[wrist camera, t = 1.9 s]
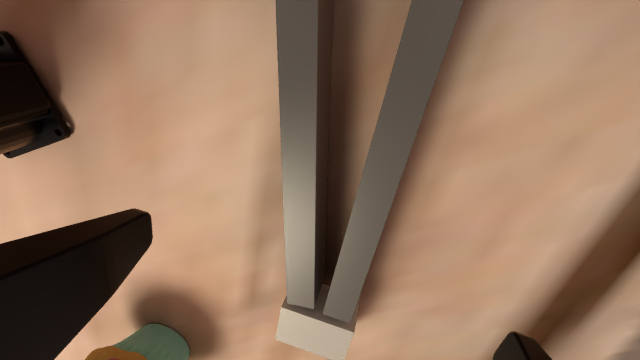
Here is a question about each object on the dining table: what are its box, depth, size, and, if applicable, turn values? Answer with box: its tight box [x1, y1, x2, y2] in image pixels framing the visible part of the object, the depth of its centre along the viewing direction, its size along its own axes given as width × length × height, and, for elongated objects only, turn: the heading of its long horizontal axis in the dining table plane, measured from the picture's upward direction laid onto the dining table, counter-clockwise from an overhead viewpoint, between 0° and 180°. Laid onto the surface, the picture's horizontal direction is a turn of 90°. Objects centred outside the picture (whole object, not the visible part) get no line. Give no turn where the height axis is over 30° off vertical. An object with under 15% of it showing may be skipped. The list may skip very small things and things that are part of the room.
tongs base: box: [275, 0, 464, 360], centre depth 15 cm, size 28×5×3 cm, turn 169°
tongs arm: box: [276, 0, 333, 309], centre depth 15 cm, size 24×2×3 cm, turn 179°
